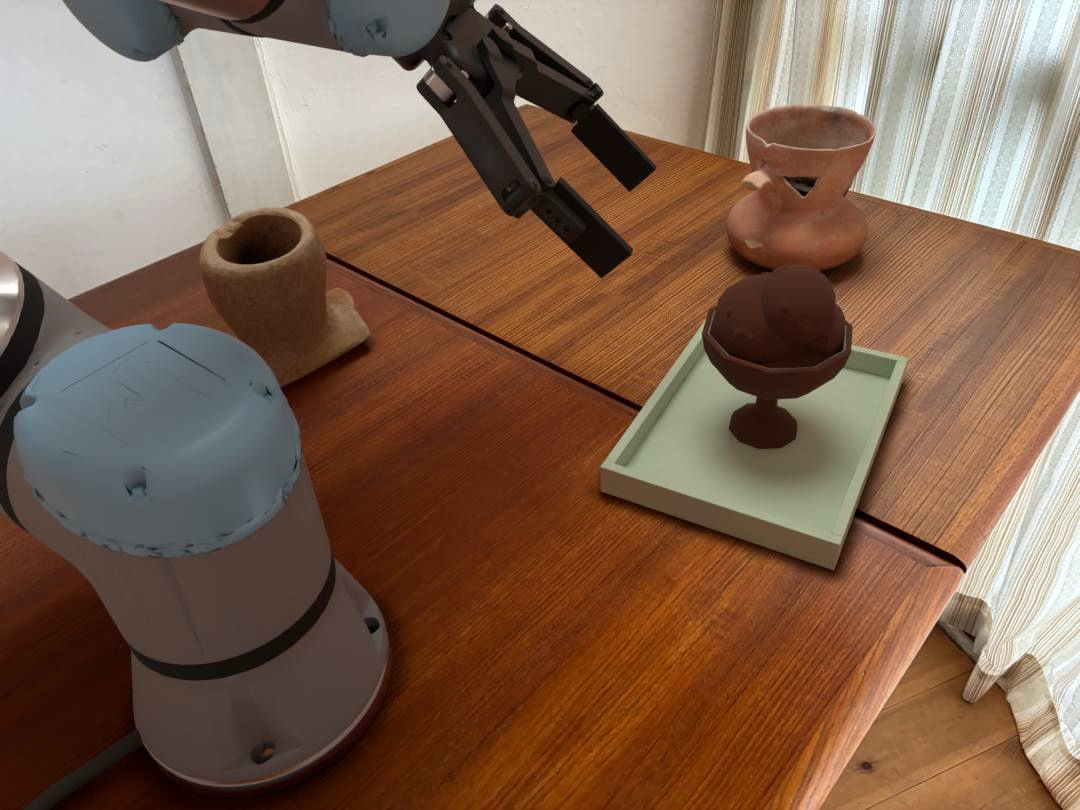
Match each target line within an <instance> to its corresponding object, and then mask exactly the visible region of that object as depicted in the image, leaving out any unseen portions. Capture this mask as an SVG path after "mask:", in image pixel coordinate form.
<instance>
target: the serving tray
mask: <svg viewBox="0 0 1080 810" xmlns="http://www.w3.org/2000/svg"><path fill="white" fill-rule="evenodd" d="M705 321H706V319H705V320H704V321H703V322H702V324H701V326H700V327H699V328H698V329H697V331H696V333H695V334H694V335H693V336H692V338H691V339H690V341H689V342H688V343H687V345H686V346H685V348H684V349H683V351H682V352H681V353H680V355H679V356H678V357H677V359H676V360H675V361H674V363H673V364H672V366H671V368H670V369H669V370H668V372H667V373H666V374H665V376H664V377H663V379H662V380H661V381H660V382H659V384H658V385H657V387H656V388H655V390H654V391H653V392H652V394H651V395H650V397H649V398H648V400H646V402H645V404H644V405H643V407H642V408H641V409H640V411H639V412H638V413H637V415H636V416H635V418H634V419H633V420H632V422H631V424H630V425H629V426H628V427H627V428H626V430H625V432H624V433H623V434H622V436H621V437H620V439H619V440H618V441H617V443H616V444H615V446H614V447H613V448H612V450H611V451H610V453H609V454H608V455H607V456H606V458H605V460H604V461H603V462H602V463H601V465H600V467H599V469H600V470H599V471H600V492H601V493H604V494H607V495H610V496H613V497H616V498H619V499H621V500H625V501H628V502H631V503H634V504H636V505H639V506H642V507H646V508H648V509H651V510H655V511H657V512H660V513H663V514H666V515H669V516H672V517H675V518H678V519H680V520H684V521H686V522H690V523H693V524H695V525H699V526H701V527H704V528H707V529H710V530H713V531H717V532H718V533H721V534H725V535H728V536H731V537H734V538H737V539H740V540H743V541H745V542H748V543H752V544H754V545H758V546H760V547H763V548H767V549H769V550H772V551H775V552H778V553H781V554H784V555H787V556H790V557H793V558H796V559H799V560H801V561H804V562H807V563H810V564H813V565H816V566H819V567H822V568H825V569H828V570H831V571H834V570H835V569H836V566H837V563H838V560H839V558H840V555H841V553H842V550H843V547H844V544H845V542H846V538H847V536H848V533H849V530H850V528H851V525H852V522H853V519H854V516H855V513H856V511H857V509H858V505H859V503H860V500H861V498H862V494H863V492H864V489H865V486H866V484H867V481H868V478H869V476H870V472H871V470H872V467H873V463H874V462H875V459H876V456H877V453H878V451H879V448H880V445H881V442H882V439H883V437H884V434H885V432H886V428H887V425H888V423H889V420H890V417H891V415H892V413H893V409H894V406H895V404H896V401H897V399H898V395H899V393H900V391H901V387H902V385H903V382H904V381H903V380H904V377H905V375H906V371H907V366H908V364H909V357H906V356H902V355H898V354H892V353H889V352H886V351H881V350H876V349H873V348H868V347H864V346H859V345H856V344H852V349H851V354H850V356H849V358H848V360H847V362H846V364H845V366H844V368H843V369H842V370H841V371H840V372H839V373H838V374H837V376H836V377H835V378H834V379H832V380H830V381H829V382H827V383H825V384H824V385H822V386H820V387H819V388H817V389H815V390H814V391H812V392H810V393H809V394H807V395H804V396H802V397H799V398H797V399H778V403H777V406H779V407H782V408H785V409H786V410H787V411H788V412H789V413H790V414H791V415H792V416H793V417H794V418H795V419H796V421H797V425H798V426H797V434H796V439H795V440H794V441H792V442H790V443H789V444H787V445H786V446H784V447H782V448H774V449H757V448H755V447H752V446H749V445H747V444H744V443H741V442H739V441H738V440H737V438H736V437H735V436H734V435H733V434H732V432H731V431H730V430H729V425H730V420H731V416H732V414H733V412H734V411H735V410H737V409H739V408H740V407H742V406H744V405H746V404H747V403H756V398H757V397H756V396H753V395H750V394H747V393H744V392H742V391H739V390H737V389H736V388H734V387H733V386H732V385H730V384H729V383H728V382H727V381H726V379H725V378H724V377H723V376H722V375H721V374H720V373H719V371H718V370H717V369H716V368H715V367H714V366H713V365H712V363H711V362H710V360H709V358H708V356H707V354H706V352H705V350H704V345H703V338H702V331H703V327H704V324H705Z"/></svg>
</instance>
